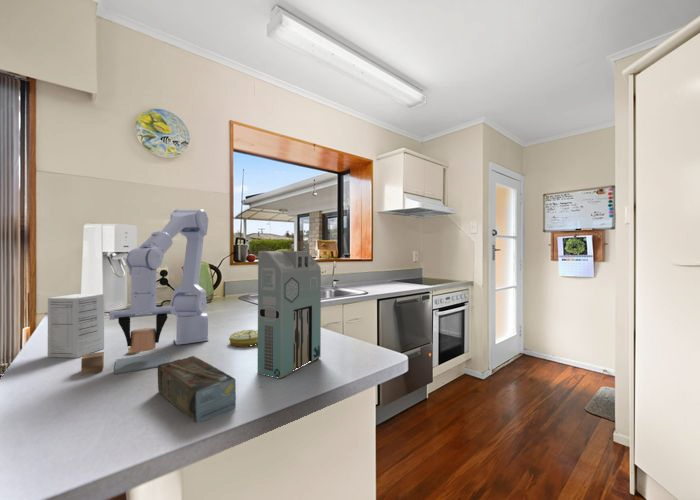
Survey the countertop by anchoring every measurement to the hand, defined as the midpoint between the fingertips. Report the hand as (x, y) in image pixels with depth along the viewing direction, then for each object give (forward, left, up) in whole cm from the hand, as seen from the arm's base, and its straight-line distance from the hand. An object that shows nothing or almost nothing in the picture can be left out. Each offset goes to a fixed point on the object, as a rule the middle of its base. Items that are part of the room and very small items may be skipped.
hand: (143, 343), depth 85 cm
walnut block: (+10, 0, -5) cm, 12 cm away
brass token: (+2, -12, -5) cm, 13 cm away
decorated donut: (-29, -4, -6) cm, 30 cm away
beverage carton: (-8, +31, -6) cm, 33 cm away
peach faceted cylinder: (0, 0, -2) cm, 2 cm away
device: (-32, +24, -5) cm, 40 cm away
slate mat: (0, 0, -5) cm, 5 cm away
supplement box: (+16, -21, -5) cm, 27 cm away
